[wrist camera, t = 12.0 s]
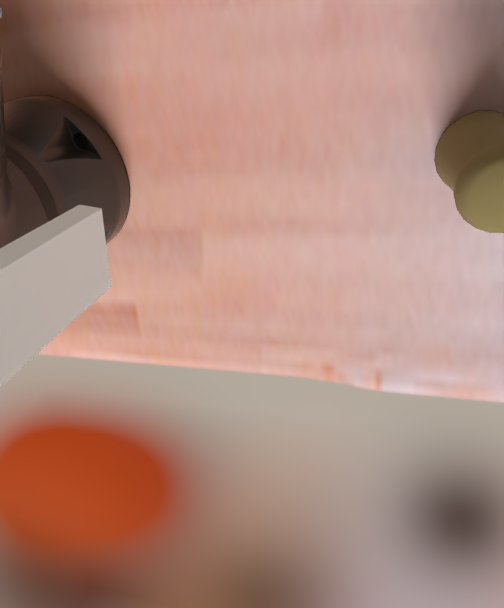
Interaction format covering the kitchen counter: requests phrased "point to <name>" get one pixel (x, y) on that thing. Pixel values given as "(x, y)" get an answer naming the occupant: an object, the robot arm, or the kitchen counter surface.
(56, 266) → the robot arm
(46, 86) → the kitchen counter surface
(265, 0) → the kitchen counter surface
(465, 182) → the olive pepper mill
